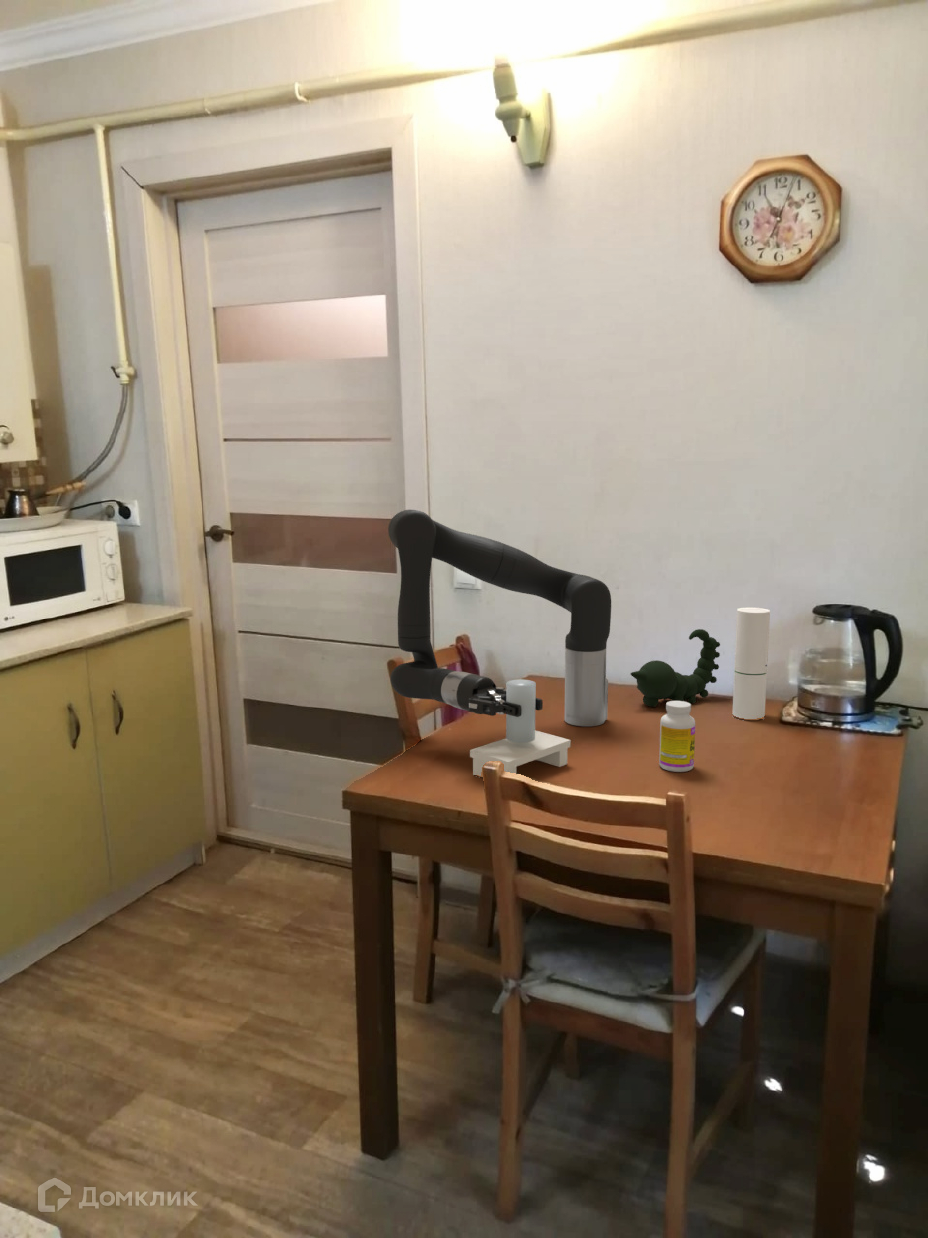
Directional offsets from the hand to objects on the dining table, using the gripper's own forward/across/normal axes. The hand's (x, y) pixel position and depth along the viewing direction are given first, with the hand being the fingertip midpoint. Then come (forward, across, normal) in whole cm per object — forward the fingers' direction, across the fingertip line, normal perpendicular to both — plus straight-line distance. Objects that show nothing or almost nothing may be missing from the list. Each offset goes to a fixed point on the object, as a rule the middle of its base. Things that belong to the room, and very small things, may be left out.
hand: (530, 708), depth 176 cm
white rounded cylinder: (-3, 0, +6) cm, 7 cm away
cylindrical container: (+12, +63, +13) cm, 65 cm away
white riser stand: (-2, 0, +13) cm, 13 cm away
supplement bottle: (+19, +22, +13) cm, 32 cm away
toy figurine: (-7, +61, +13) cm, 63 cm away
